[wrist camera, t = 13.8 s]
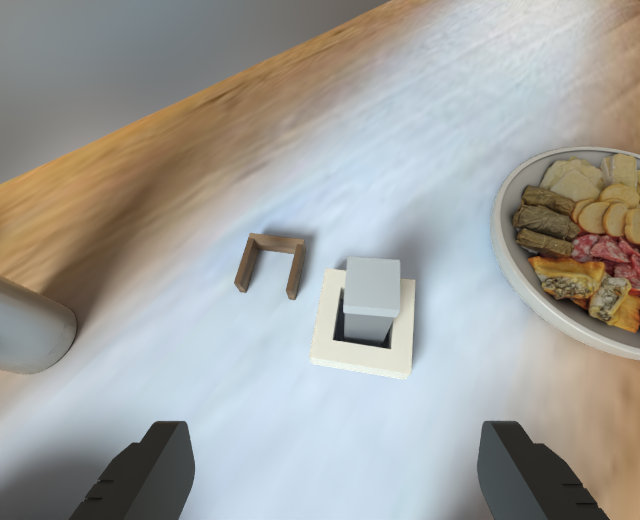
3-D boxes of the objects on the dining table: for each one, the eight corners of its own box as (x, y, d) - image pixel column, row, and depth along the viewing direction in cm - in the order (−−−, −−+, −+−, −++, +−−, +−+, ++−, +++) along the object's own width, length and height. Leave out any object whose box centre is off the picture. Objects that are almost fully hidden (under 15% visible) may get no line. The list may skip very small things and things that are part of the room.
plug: (342, 344, 41) (343, 305, 28) (345, 307, 43) (347, 256, 31) (381, 348, 40) (400, 310, 28) (382, 310, 42) (400, 260, 30)
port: (311, 363, 40) (308, 355, 36) (326, 281, 45) (325, 265, 41) (404, 379, 38) (412, 373, 34) (409, 292, 43) (416, 277, 39)
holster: (240, 291, 45) (234, 283, 42) (254, 243, 48) (249, 232, 46) (295, 299, 44) (292, 291, 41) (305, 250, 47) (303, 239, 45)
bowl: (435, 232, 48) (451, 197, 41) (574, 142, 54) (608, 100, 47) (629, 425, 35) (700, 423, 28) (780, 279, 42) (867, 249, 35)
